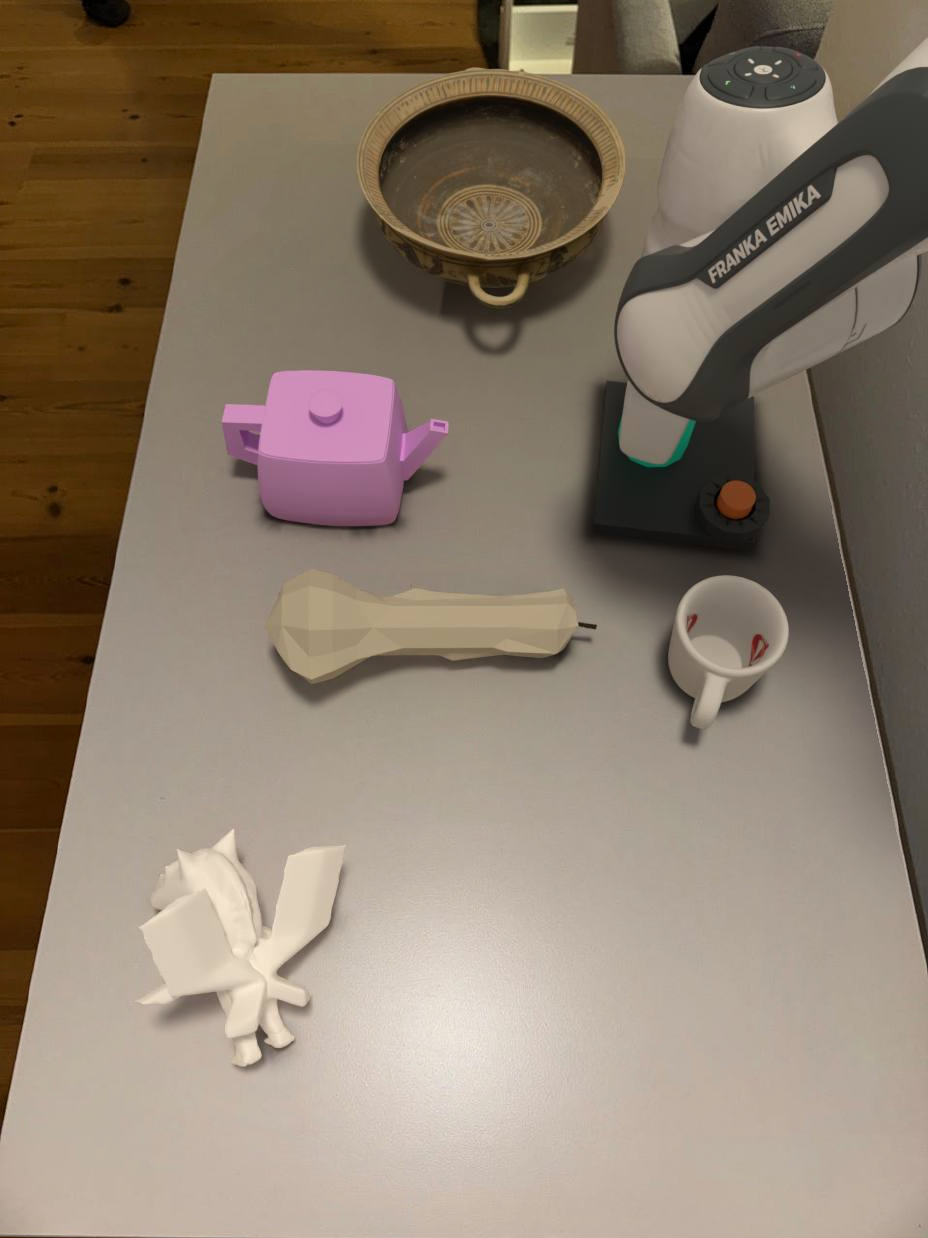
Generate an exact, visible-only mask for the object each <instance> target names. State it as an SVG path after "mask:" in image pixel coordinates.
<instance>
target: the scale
mask: <svg viewBox="0 0 928 1238" xmlns="http://www.w3.org/2000/svg"><path fill="white" fill-rule="evenodd" d="M626 388H627V382H625V381H615V380H606V381H605V385H604V391H603V392H604V393H603V405H602V415H601V426H600V428H601V429H600V439H599V440H600V441H599V442H600V443H599V453H598V464H597V476H596V488H595V498H594V499H595V500H594V511H593V523H592V524H593V525H592V533H595V534H602V535H603V534H604V535H613V536H622V537H631V538H638V539H646V540H647V539H648V540H656V541H664V542H665V541H666V542H672V543H683V544H690V545H699V546H707V547H717V548H724V549H732V550H733V549H734V550H740V551H741V550H742V551H751V549H752V547H753V545H754V543H755V538H757V536H758V535H759V533H760V532H761V531H762V530H763V528H764V527H765V526H766V523H767V522H768V520H769V518H770V515H771V500H770V497H769V496H768V493H766V491H765V489H764V488H763V486H762V485H761V484H760V483H758V482H756V481H755V396H752V397H750V398H748V399H747V400H746V401H745V402H744V403H742V404H741V405H739V406H737V407H736V408H734V409H732V410H730V411H729V412H727V413H725V414H724V415H722V416H720V417H718V418H717V419H715V420H713V421H711V422H707V423H702V422H697V421H696V422H695V425H694V428H693V431H692V434H691V437H690V440H689V442H688V445H687V447H686V449H685V451H684V453H683V455H682V457H681V459H679V460H678V461H676V462H674V463H672V464H670V465H668V466H666V467H646V466H643V465H641V464H639V463H636V462H634V461H632V460H630V459H629V458H628V456H627V455H626V454H624V453H623V452H622V451H621V449H620V445H619V437H618V430H619V426H620V422H621V418H622V414H623V407H624V400H625V393H626ZM730 481H742V482H745V483H747V484H748V485H750V486H751V487H752V488H753V490H754V492H755V495H756V500H755V503H754V505H753V507H752V509H751V511H750V513H749V514H748V515H747V516H746V517H744V518H742V519H730V518H727V517H725V516H724V515H723V514H721V512H720V511H719V510H718V507H717V499H718V496H719V494H720V492H721V489H722V487H723V486H724V485H725V484H726V483H728V482H730Z"/></svg>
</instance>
